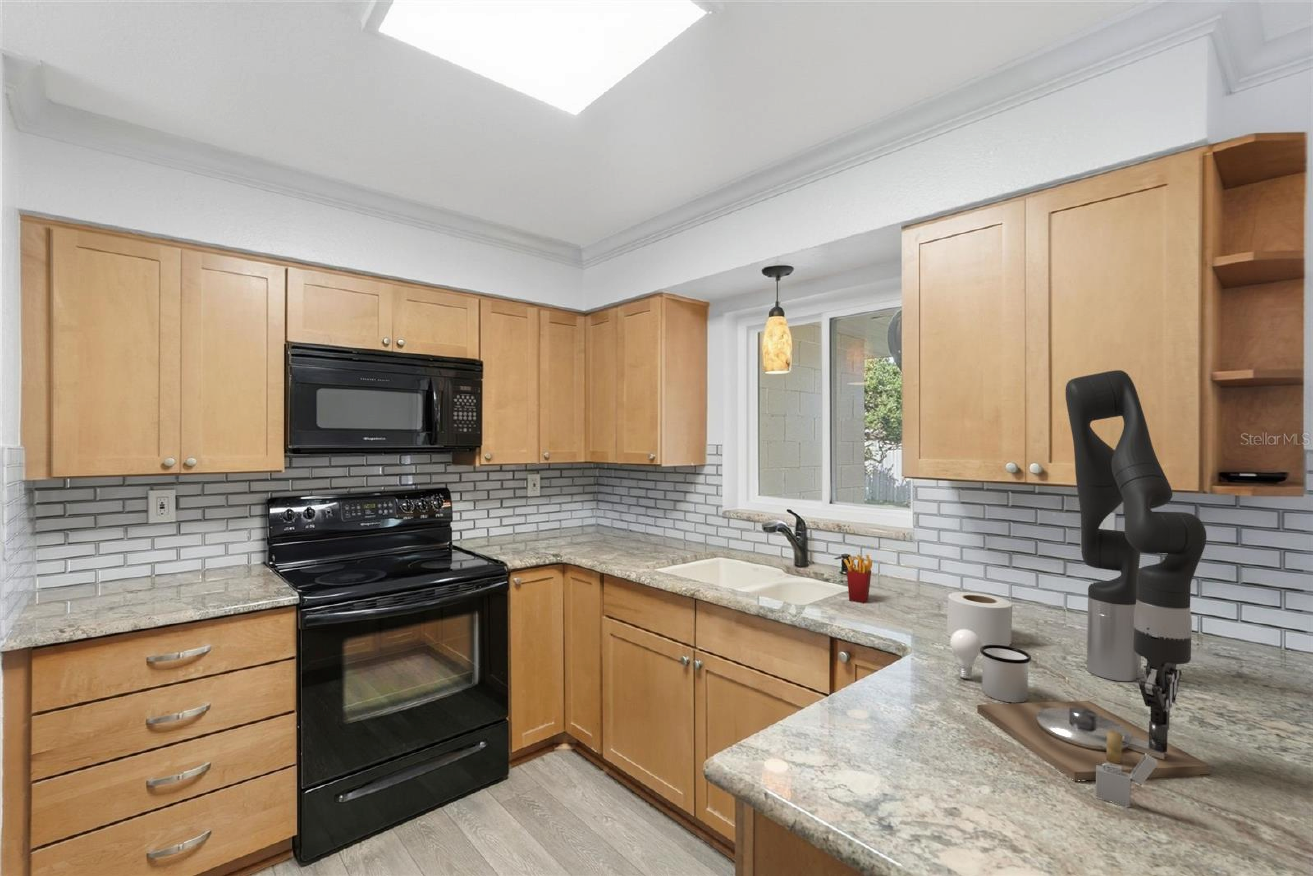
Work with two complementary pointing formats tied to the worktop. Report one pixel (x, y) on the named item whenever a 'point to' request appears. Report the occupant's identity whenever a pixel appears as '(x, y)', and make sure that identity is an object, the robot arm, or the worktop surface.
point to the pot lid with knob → (1099, 731)
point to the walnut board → (1081, 760)
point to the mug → (1005, 673)
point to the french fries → (859, 578)
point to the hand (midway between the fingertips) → (1159, 729)
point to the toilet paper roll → (980, 617)
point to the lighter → (1121, 780)
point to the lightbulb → (965, 650)
